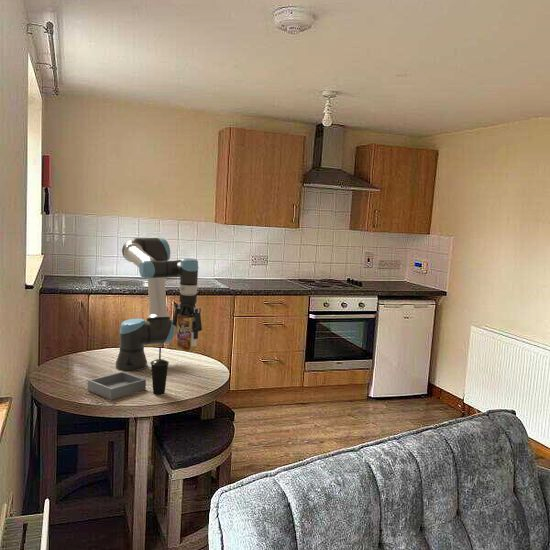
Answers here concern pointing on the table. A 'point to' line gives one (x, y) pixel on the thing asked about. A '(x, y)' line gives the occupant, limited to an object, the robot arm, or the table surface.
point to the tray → (116, 385)
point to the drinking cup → (159, 374)
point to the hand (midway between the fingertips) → (186, 343)
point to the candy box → (184, 332)
